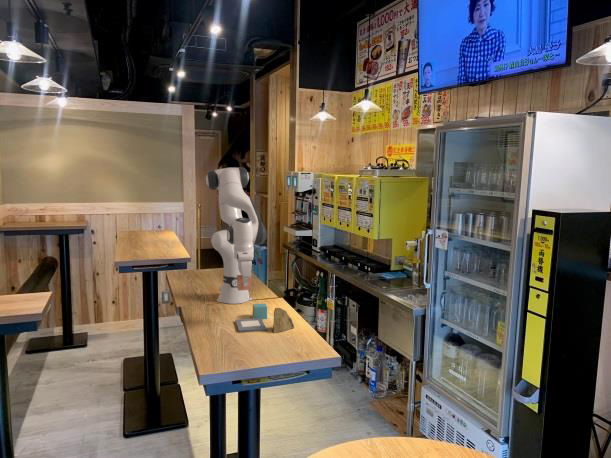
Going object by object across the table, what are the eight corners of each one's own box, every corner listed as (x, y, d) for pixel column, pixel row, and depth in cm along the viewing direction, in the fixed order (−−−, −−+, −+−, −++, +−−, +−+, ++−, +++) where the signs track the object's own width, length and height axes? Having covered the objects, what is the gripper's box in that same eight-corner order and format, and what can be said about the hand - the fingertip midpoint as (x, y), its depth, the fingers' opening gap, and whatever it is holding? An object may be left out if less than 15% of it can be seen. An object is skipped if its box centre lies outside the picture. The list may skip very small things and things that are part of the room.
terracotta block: (237, 287, 212) (236, 274, 211) (250, 287, 213) (250, 274, 212) (238, 290, 206) (238, 277, 205) (251, 289, 207) (251, 276, 207)
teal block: (252, 316, 222) (252, 304, 222) (265, 315, 224) (265, 303, 223) (254, 319, 217) (254, 307, 216) (267, 319, 218) (267, 306, 217)
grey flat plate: (235, 321, 213) (235, 319, 213) (261, 319, 216) (261, 317, 216) (238, 332, 198) (238, 330, 198) (266, 330, 201) (266, 328, 201)
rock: (294, 319, 209) (272, 317, 208) (297, 308, 204) (274, 305, 202) (293, 340, 201) (270, 337, 200) (296, 329, 196) (273, 326, 194)
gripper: (235, 251, 217) (235, 280, 218) (238, 257, 197) (239, 289, 199) (248, 250, 219) (248, 279, 220) (253, 256, 199) (254, 288, 200)
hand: (244, 284), depth 209 cm, fingers closed on terracotta block, 6 cm apart
